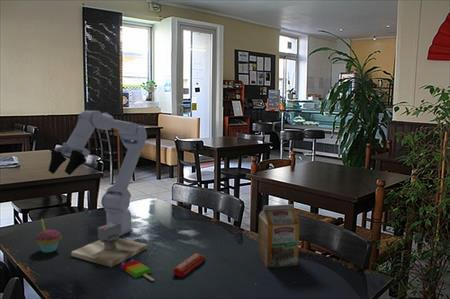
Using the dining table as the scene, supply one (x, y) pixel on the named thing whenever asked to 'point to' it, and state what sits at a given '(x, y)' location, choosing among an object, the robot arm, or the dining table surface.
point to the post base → (109, 251)
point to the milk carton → (278, 236)
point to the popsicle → (137, 269)
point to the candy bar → (188, 265)
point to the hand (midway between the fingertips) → (59, 172)
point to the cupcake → (48, 239)
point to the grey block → (109, 232)
